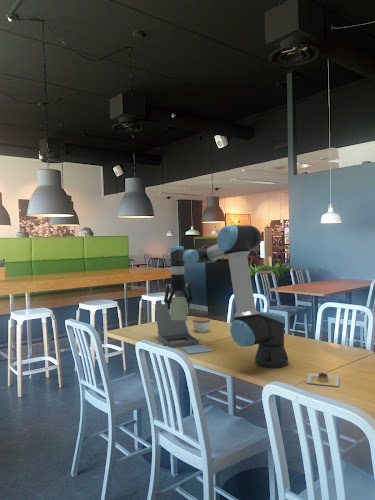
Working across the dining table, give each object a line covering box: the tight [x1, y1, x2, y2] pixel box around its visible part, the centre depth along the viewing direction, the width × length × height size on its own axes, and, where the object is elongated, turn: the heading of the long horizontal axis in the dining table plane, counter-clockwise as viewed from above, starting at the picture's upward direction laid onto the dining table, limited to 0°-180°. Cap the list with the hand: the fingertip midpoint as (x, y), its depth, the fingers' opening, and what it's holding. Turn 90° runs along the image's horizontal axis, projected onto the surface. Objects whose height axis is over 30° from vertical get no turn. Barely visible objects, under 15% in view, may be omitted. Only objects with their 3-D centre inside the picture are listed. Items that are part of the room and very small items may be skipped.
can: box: [170, 296, 188, 320], centre depth 223 cm, size 9×9×12 cm
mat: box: [180, 344, 214, 355], centre depth 208 cm, size 13×13×1 cm
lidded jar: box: [192, 316, 211, 334], centre depth 250 cm, size 11×11×9 cm
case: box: [155, 303, 200, 349], centre depth 226 cm, size 23×18×20 cm
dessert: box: [306, 370, 340, 388], centre depth 161 cm, size 12×12×5 cm
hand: (178, 314), depth 223 cm, fingers closed on can, 9 cm apart
